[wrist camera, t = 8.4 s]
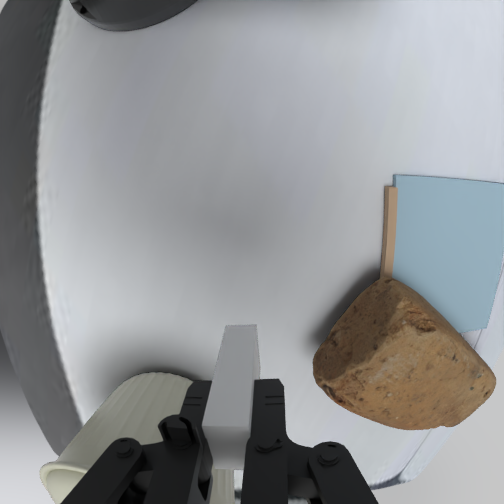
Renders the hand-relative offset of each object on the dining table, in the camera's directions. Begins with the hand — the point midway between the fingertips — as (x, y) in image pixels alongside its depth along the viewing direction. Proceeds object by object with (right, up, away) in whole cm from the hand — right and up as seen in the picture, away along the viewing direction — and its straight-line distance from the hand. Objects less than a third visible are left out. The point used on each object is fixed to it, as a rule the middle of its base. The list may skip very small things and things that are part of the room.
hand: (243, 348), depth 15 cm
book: (+20, +4, +11) cm, 23 cm away
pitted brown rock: (+8, -1, +7) cm, 11 cm away
